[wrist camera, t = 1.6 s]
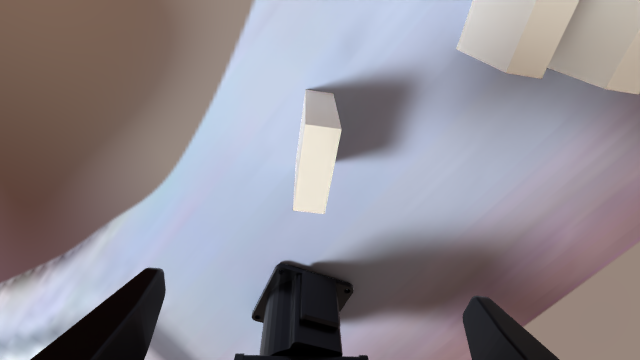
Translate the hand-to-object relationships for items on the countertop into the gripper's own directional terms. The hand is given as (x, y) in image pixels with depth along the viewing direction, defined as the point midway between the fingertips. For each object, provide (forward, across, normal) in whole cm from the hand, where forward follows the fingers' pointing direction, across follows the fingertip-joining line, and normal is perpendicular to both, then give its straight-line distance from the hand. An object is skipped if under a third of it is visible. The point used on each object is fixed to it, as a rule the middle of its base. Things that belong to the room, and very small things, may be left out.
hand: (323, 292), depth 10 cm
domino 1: (+12, 0, 0) cm, 13 cm away
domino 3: (+13, -12, -8) cm, 19 cm away
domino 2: (+13, -8, -8) cm, 17 cm away
